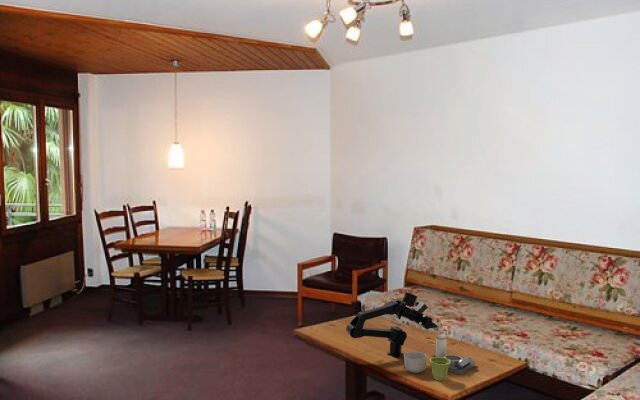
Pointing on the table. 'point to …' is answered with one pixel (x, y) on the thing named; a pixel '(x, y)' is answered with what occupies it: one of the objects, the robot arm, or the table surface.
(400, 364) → the table surface
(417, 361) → the teacup
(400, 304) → the robot arm
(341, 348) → the table surface
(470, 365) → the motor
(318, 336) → the table surface
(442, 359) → the plant pot
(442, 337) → the white tall cylinder
